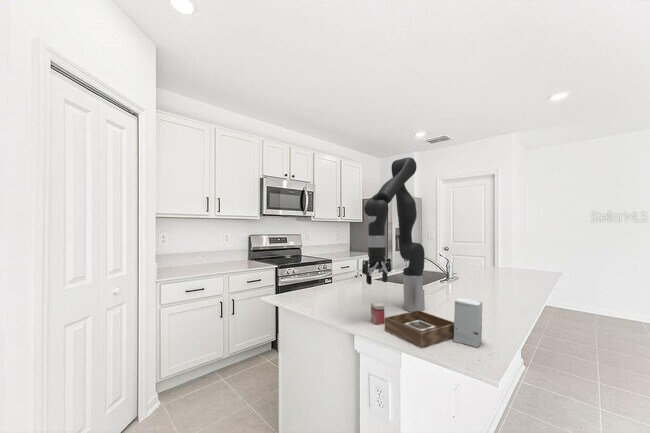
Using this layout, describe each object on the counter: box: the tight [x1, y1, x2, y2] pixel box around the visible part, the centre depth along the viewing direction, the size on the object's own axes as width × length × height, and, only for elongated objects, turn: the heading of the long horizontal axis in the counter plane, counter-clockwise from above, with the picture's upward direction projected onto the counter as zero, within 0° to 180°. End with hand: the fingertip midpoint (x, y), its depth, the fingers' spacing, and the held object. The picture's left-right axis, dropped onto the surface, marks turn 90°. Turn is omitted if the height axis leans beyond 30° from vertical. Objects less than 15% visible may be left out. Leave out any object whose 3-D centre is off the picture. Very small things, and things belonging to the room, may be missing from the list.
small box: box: [370, 302, 385, 325], centre depth 122 cm, size 5×4×8 cm
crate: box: [384, 310, 454, 349], centre depth 110 cm, size 19×19×5 cm
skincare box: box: [453, 297, 483, 348], centre depth 101 cm, size 8×6×15 cm
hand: (377, 283), depth 123 cm, fingers open, 8 cm apart
